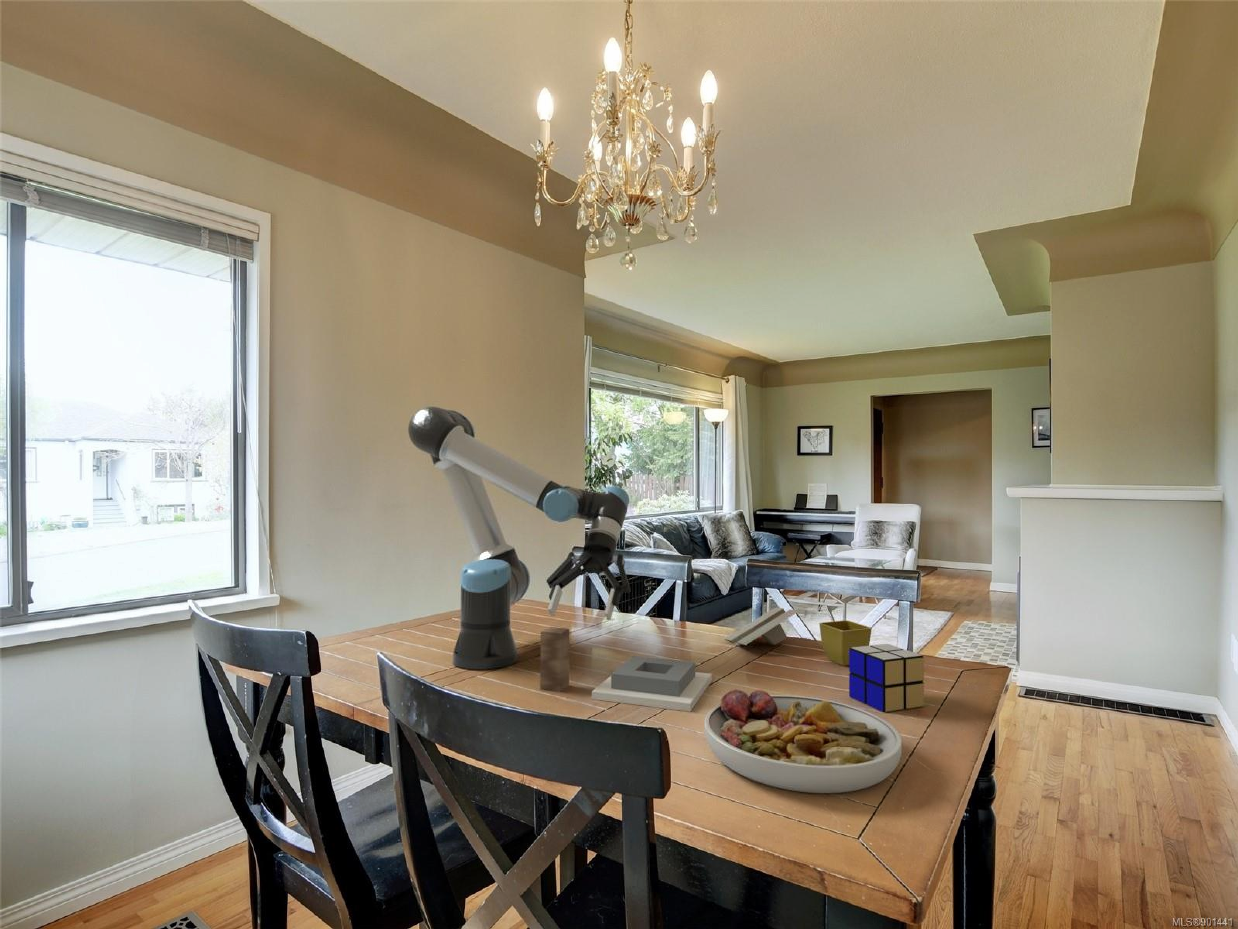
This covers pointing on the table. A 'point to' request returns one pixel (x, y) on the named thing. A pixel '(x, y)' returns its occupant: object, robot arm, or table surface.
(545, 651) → the walnut peg
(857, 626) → the flower pot
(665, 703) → the socket plate
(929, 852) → the table surface
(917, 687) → the puzzle cube
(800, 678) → the table surface
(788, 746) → the bowl
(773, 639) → the grey sloped stand
